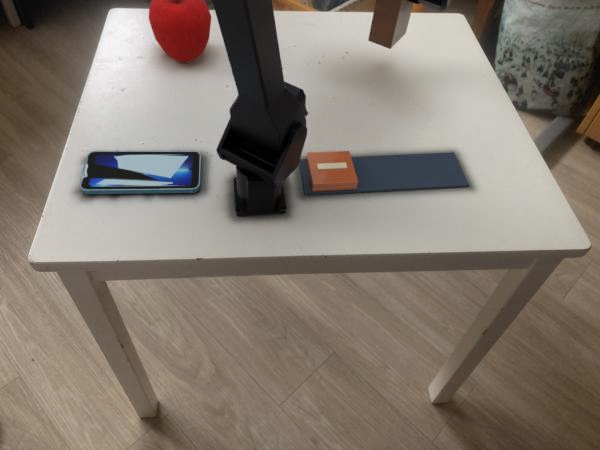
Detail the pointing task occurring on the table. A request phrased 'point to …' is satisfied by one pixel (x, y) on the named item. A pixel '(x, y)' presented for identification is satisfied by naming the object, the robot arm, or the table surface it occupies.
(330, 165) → the letter tile
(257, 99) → the robot arm
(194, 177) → the smartphone
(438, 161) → the word mat
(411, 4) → the brown tall rectangular block
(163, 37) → the apple
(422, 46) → the table surface
